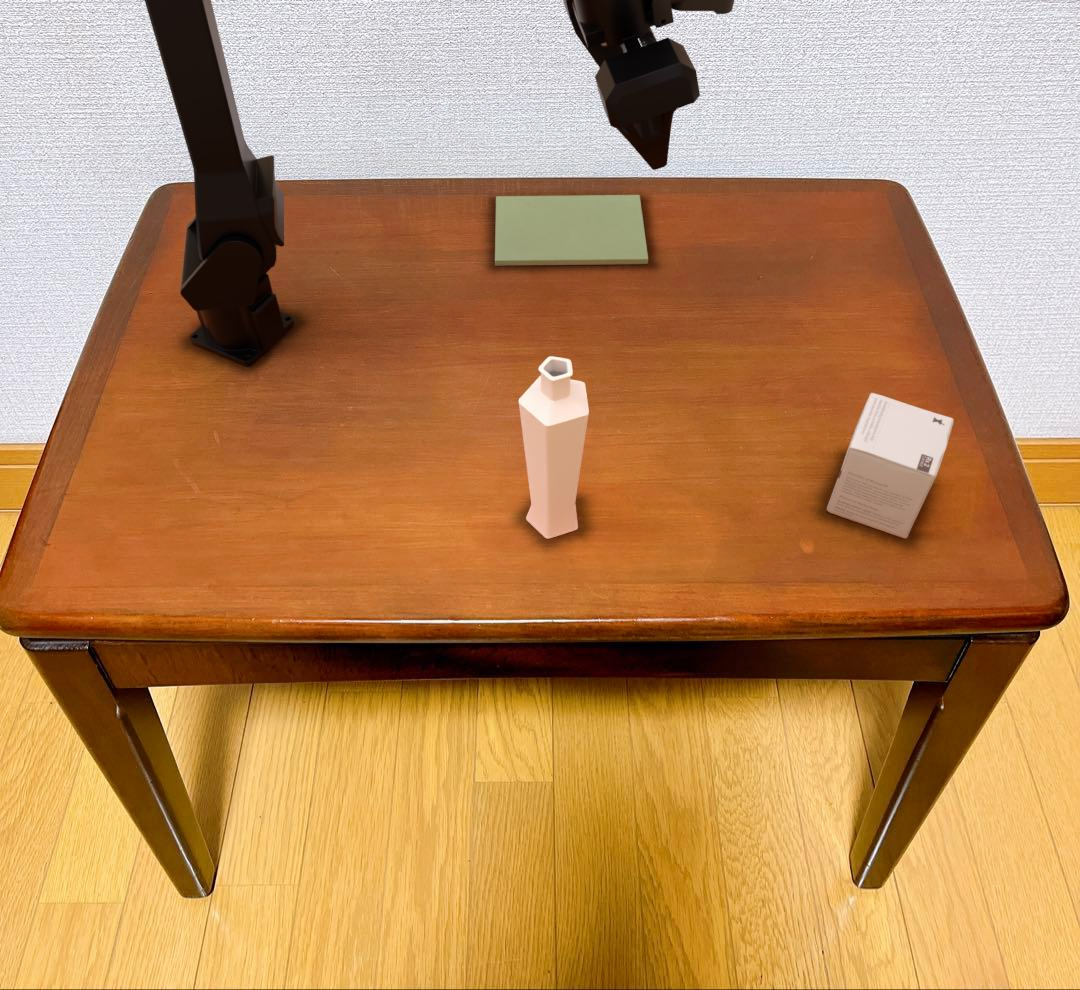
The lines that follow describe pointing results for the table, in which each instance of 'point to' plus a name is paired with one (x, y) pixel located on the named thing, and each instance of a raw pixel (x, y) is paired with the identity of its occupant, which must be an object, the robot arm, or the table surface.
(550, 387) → the perfume bottle
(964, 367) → the table surface
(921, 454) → the product carton
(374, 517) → the table surface
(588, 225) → the mat
